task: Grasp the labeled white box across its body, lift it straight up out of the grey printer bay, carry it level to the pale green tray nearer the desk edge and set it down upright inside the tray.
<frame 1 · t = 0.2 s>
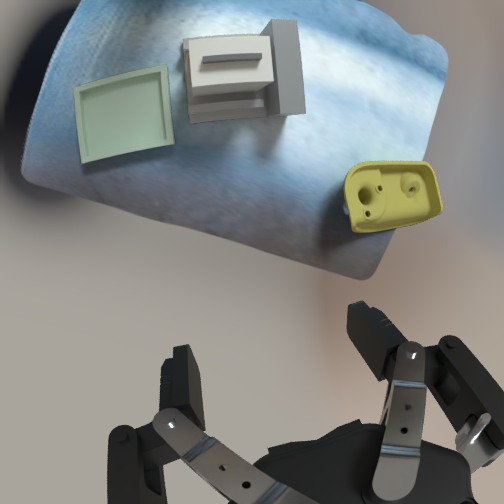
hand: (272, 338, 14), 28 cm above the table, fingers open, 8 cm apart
labeled white box: (222, 75, 31), point 1 cm above the table, touching printer bay
printer bay: (228, 76, 32), on the table
plastic component: (380, 191, 43), on the table
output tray: (124, 113, 32), on the table
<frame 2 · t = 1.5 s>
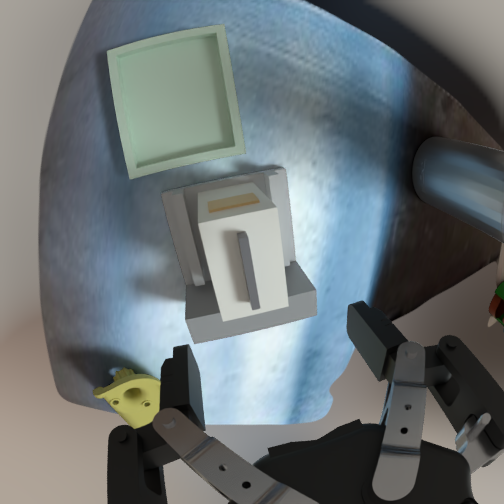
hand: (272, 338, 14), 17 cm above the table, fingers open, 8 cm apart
labeled white box: (232, 226, 28), point 1 cm above the table, touching printer bay
motor: (499, 296, 47), on the table
printer bay: (232, 230, 29), on the table
plastic component: (147, 395, 38), on the table
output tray: (175, 99, 23), on the table
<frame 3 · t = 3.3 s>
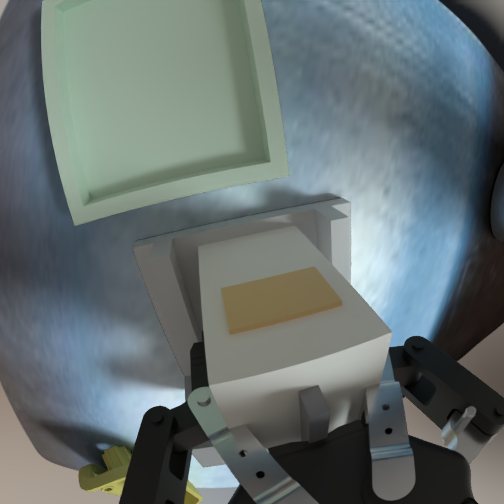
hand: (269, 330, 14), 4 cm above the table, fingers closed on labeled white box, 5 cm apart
labeled white box: (258, 298, 17), point 1 cm above the table, touching gripper, printer bay
printer bay: (256, 300, 18), on the table
plastic component: (144, 466, 26), on the table
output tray: (156, 73, 12), on the table
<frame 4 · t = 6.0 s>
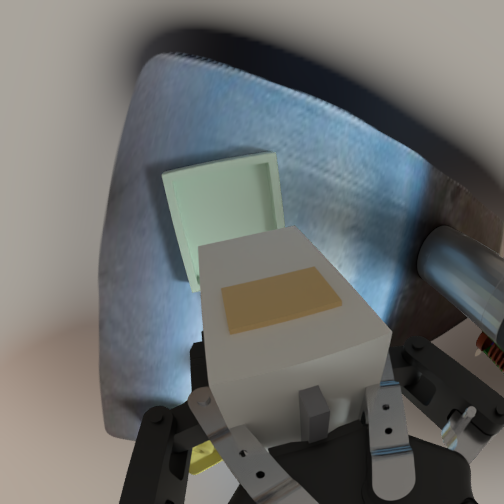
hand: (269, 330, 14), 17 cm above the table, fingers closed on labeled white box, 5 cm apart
labeled white box: (257, 298, 17), point 14 cm above the table, touching gripper
motor: (486, 332, 54), on the table
plastic component: (190, 428, 44), on the table
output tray: (228, 220, 30), on the table
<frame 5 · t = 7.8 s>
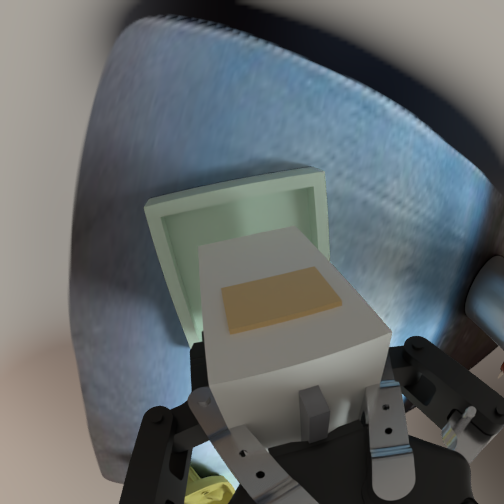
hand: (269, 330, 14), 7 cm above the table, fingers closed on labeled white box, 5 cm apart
labeled white box: (257, 298, 17), point 4 cm above the table, touching gripper
plastic component: (197, 476, 35), on the table
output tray: (247, 268, 20), on the table
when the fingers open (5 cm above the table, at t = 9.2 s): labeled white box stays where it is, resting on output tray.
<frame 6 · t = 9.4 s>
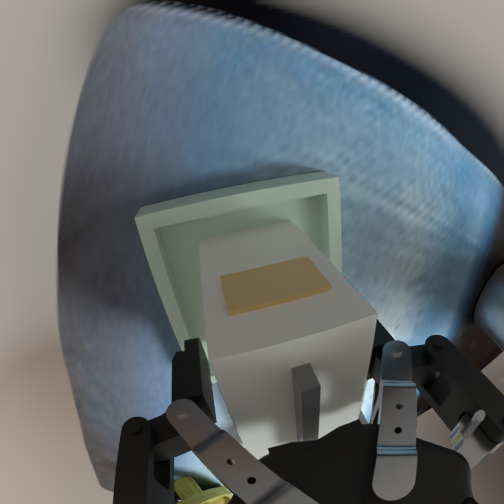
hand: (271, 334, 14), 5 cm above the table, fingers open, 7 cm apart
labeled white box: (255, 290, 18), point 1 cm above the table, touching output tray
plastic component: (197, 486, 33), on the table
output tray: (251, 283, 18), on the table
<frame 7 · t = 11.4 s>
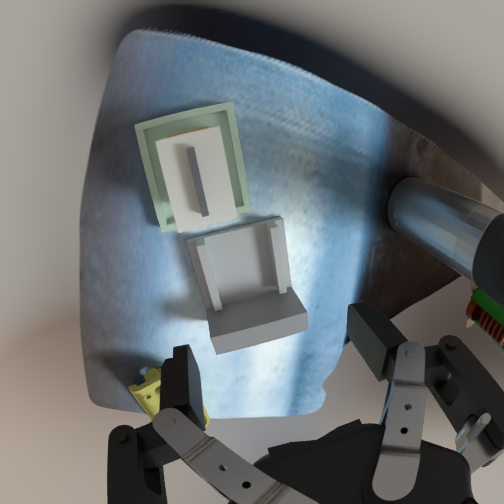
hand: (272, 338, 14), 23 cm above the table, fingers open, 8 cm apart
labeled white box: (195, 166, 31), point 1 cm above the table, touching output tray
motor: (475, 301, 57), on the table
printer bay: (242, 266, 38), on the table
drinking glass: (490, 320, 65), on the table
plastic component: (169, 390, 46), on the table
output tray: (194, 165, 31), on the table
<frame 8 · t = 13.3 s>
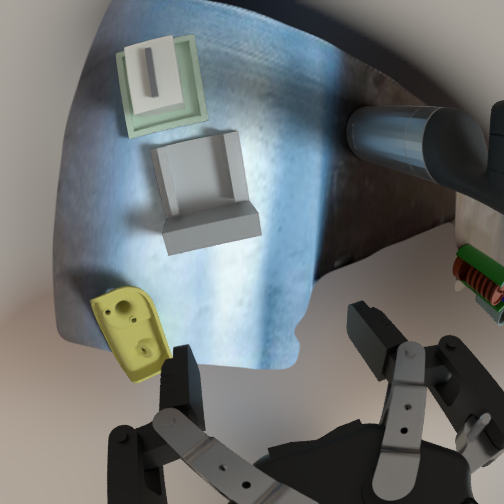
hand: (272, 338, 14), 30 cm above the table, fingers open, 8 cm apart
labeled white box: (162, 85, 32), point 1 cm above the table, touching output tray
motor: (463, 260, 57), on the table
printer bay: (201, 177, 39), on the table
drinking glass: (482, 290, 65), on the table
plastic component: (134, 320, 47), on the table
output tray: (161, 86, 32), on the table
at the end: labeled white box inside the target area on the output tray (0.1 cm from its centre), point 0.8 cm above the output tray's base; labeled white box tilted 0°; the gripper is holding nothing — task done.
